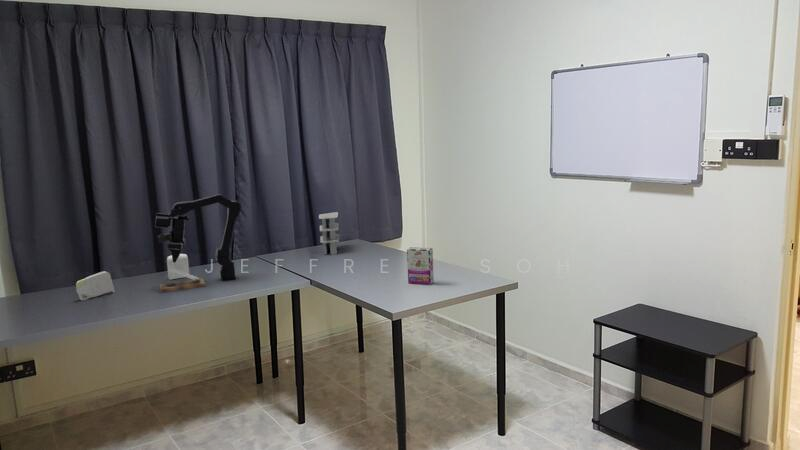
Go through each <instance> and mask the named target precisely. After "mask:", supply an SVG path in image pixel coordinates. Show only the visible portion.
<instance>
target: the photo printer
mask: <svg viewBox="0 0 800 450" xmlns="http://www.w3.org/2000/svg"><path fill="white" fill-rule="evenodd" d="M166 257H167V258H166V266H167V277H168V280H170V281H171V280H177V279H185V278H186V277H185V276H182V275H179V274H177V273H174V272H171V271H169V268H170V267H172V268H175V269H177V270H180V271H183V272H185V273H188V274H190V268H189V266H190V264H189V258H188V255H187V254H186V253H180V255H179V257H178V259H177V260H176V262H175V263H174V262H173V259H172V254H171V255H169V256H166Z"/></svg>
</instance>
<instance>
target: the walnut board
mask: <svg viewBox="0 0 800 450" xmlns="http://www.w3.org/2000/svg"><path fill="white" fill-rule="evenodd" d="M202 287H206V282H205V280H204V279H203V278H199V279H196V281H195V280H193V279H189V280H182V281H175V282H174V281H173V282H168V283H160V284H159V292H160V293H166V292H175V291H181V290H182V291H183V290H189V289H197V288H202Z"/></svg>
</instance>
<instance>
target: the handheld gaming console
mask: <svg viewBox="0 0 800 450" xmlns="http://www.w3.org/2000/svg"><path fill="white" fill-rule="evenodd" d="M75 287H76V289H75V291H76V294H77V295H78V298H79V300H80V301H82V300H83V301H86V300H89V299H91V298H97V297H98V296H101V295H104V294H107V293H110V292H111V293H113V294H115V293H116V291H115V287H114V284H113V281H112V276H111V274H110V272H109V271H108V272H107V271H104V270H103V271H100V272H97V273H95V274H91V275H89V276H87V277H85V278H83V279H79V280H78V281H77V282H76V283H75Z"/></svg>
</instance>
